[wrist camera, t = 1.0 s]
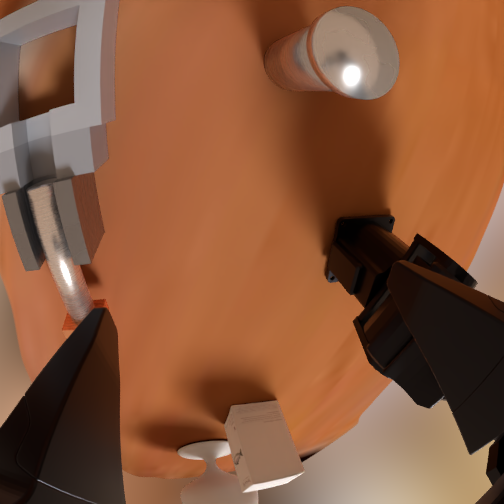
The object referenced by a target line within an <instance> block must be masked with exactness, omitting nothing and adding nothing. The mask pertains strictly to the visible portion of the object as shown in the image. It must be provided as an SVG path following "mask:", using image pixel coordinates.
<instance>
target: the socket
mask: <svg viewBox="0 0 504 504" xmlns="http://www.w3.org/2000/svg"><path fill="white" fill-rule="evenodd" d="M118 8H119V0H39V1H36V2H34V3H32V4H30V5H28V6H25V7H23V8H21V9H19V10H17V11H15V12H13V13H11V14H9V15H8V16H6V17H4V18H2V19H0V194H3V193H6V192H9V191H13V190H16V189H20V188H22V187H23V186H25V185H26V184H27V183H29V182H30V181H31V180H33V179H35V178H39V177H43V176H47V175H51V174H55V173H56V174H57V179H61V178H66V177H70V176H75V175H80V174H86V173H91V172H95V171H96V170H97V169H98V168H99V167H100V166H101V165H102V164H103V163H104V162H106V161H107V160H108V159H109V157H108V147H107V135H106V123H108V122H111V121H114V120H116V116H115V45H116V29H117V18H118ZM75 25H77V30H76V42H75V60H74V102H75V103H72V104H69V105H65V106H61V107H58V108H54V109H51V110H49V112H47V113H44V114H41V115H38V116H35V117H32V118H29V119H26V120H22V121H19V102H18V75H19V56H20V46H21V45H23V44H26V43H28V42H30V41H33V40H35V39H37V38H40V37H43V36H45V35H48V34H51V33H53V32H56V31H59V30H62V29H65V28H68V27H71V26H75Z"/></svg>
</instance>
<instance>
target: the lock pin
mask: <svg viewBox="0 0 504 504" xmlns="http://www.w3.org/2000/svg"><path fill="white" fill-rule="evenodd" d="M56 180H57V178H52V179H47V180H44V181H41V182H38V183H36V184H34V185H32V186H30V187H29V188H28V189H27V190H26V191H27V195H28V200H29V204H30V208H31V212H32V216H33V219H34V223H35V226H36V230H37V233H38V236H39V240H40V243H41V246H42V249H43V252H44V255H45V258H46V260H47V263H48V266H49V269H50V271H51V274H52V276H53V279H54V281H55V284H56V286H57V289H58V291H59V293H60V296H61V298H62V300H63V302H64V305H65V307H66V309H67V311H68V313H67V316H66V319H65V322H64V325H63V328H62V332H63V334H64V335H65V337H66V339H67V338H68V337H69V336H70V335H71V333H72V332H73V331H74V330H75V329H76V328H77V326H78V325H79V324H80V323H81V322H82V321H83V319H84V318H85V317H86V316H87V315H88V314H89V312H90V311H91V310H92V309H94V308H100V307H106V308H107V309H108V310H109V307H108V305H107V302H106V299H102V300H92V298H91V295H90V292H89V290H88V287H87V284H86V281H85V279H84V276H83V273H82V270H81V267H80V265H74V263H73V260H72V257H71V254H70V251H69V247H68V244H67V241H66V237H65V234H64V230H63V226H62V223H61V219H60V215H59V210H58V206H57V202H56V197H55V192H54V187H53V182H55V181H56Z"/></svg>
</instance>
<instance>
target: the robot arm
mask: <svg viewBox="0 0 504 504" xmlns="http://www.w3.org/2000/svg"><path fill="white" fill-rule="evenodd" d="M389 220H390V221H389ZM394 221H395V218H394V217H393V216H392V215H373V216H355V217H341V218H339V219H338V221H337V223H336V228H335V234H334V239H333V243H332V247H331V252H330V257H329V262H328V270H327V274H326V279H327V281H328V282H330V283H332V282H338V281H339V282H340V283H341V284H342V286H343V287H344V288H345V289H346V291H347V292H348V293H349V294H350V295H354V296H355V297H356V298H357V299H358V301H359V302H360V303H361V304H362V306H363V307H364V308H365V309H364V310H363V311H362V312H361V314H360V315H359V316H357V317H356V318H355V319H354V320H353V323H354V326H355V328H356V331H357V334H358V336H359V338H360V341H361V343H362V346H363V349H364V351H365V354H366V356H367V359H368V361H369V363H370V364H371V365H372V366H373V367H374V368H375V370H377V371H379V372H380V373H381V374H382V375H384V376H386V377H387V378H390V379H392V380H394V381H395V382H396V383H397V384H398V385H399V386H401V387H402V388H403V389H404V390H405V391H406V393H408V395H409V396H410V397H411V398H412V399H413V401H414V402H415V403H416V404H417V405H420V406H423V407H426V408H432V407H433V406H434V405H435V404H437V403H438V402H439V401H440V400H446V401H447V402H448V404H449V406H450V409H451V411H452V412H453V413H452V414H453V416H454V418H455V421H456V423H457V425H458V427H459V430H460V432H461V435H462V437H463V440H464V442H465V445H466V447H467V450H468V452H469V454H470V455H472V454H473V453H475V452H476V451H478V450H479V449H481V448H482V447H484V446H485V445H487V444H488V443H489V442H491V441H492V440H495V442H494V443H493V444H492V445H491V446H490V448H489V456H488V463H487V469H486V475H487V476H488V478H489V480H490V482H491V483H492V485H493V486H492V487H491V488H490V489H489V490H488V491H487V492H486V493H485V494H484V495H483V496H482V497H481V498H480V499H479V500H478V501H477V502H476V503H475V504H504V302H502V301H500V300H497V299H495V298H493V297H491V296H489V295H486V294H484V293H482V292H480V291H477V290H475V289H474V288H475V287H476V285H477V284H478V283H477V281H476V280H475V279H474V278H473V277H472V276H471V275H469V274H468V273H467V272H466V271H465V270H464V269H463V268H462V267H461V266H460V265H458V264H457V263H456V262H455V261H454V260H452V259H451V258H450V257H449V256H448V255H446V254H445V253H444V252H442V251H441V250H440V249H438V248H437V247H436V246H434V245H433V244H432V243H430V242H429V241H428V240H426V239H425V238H423V237H422V236H421V235H419V234H418V233H417V234H416V236H415V237H414V241H413V242H412V244H411V246H410V247H409V246H408V245H406V244H405V243H404V242H403V241H401V240H400V239H399V238H398V237H396V236H395V235H394V234H393V233H392V229H393V225H394ZM343 222H344V223H343ZM342 223H343V225H341V224H342ZM0 504H126V501H125V494H124V485H123V475H122V463H121V446H120V372H119V354H118V333H117V328H116V326H115V324H114V321H113V319H112V317H111V314H110V312H109V310H108V309H107V308H106V307H100V308H94V309H92V310H91V311H90V312H89V314H88V315H87V316H86V317H85V318H84V319H83V321H82V322H81V323H80V324H79V325H78V326H77V328H76V329H75V330H74V331H73V332H72V333H71V335H70V336H69V337H68V338H67V339H66V341H65V342H64V343H63V344H62V346H61V347H60V348H59V349H58V351H57V352H56V353H55V354H54V356H53V357H52V358H51V359H50V361H49V362H48V363H47V364H46V366H45V367H44V368H43V370H42V371H41V372H40V374H39V375H38V376H37V378H36V379H35V380H34V382H33V383H32V384H31V386H30V387H29V389H28V390H27V391H26V393H25V396H23V397H22V398H21V400H20V401H19V403H18V404H17V406H16V407H15V408H14V410H13V411H12V413H11V414H10V415H9V417H8V418H7V420H6V421H5V422H4V423H3V425H2V426H1V427H0Z"/></svg>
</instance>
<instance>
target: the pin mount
mask: <svg viewBox="0 0 504 504" xmlns="http://www.w3.org/2000/svg"><path fill="white" fill-rule="evenodd" d="M52 178H57V174H56V173H55V174H51V175H47V176H43V177H39V178H35V179H33V180H31V181H30V182H29V183H27V184H26V185H25V186H23V187H22V188H20V189H16V190H13V191H9V192H7V193H5V194H4V195H3V196H2V199H3V203H4V207H5V211H6V215H7V218H8V222H9V225H10V228H11V232H12V235H13V238H14V241H15V244H16V247H17V249H18V252H19V255H20V258H21V260H22V263H23V265H24V268H25V270H26V271H33V270H39V269H40V267H41V266H42V264H43V262H44V261H45V259H46V258H45V255H44V252H43V249H42V246H41V243H40V240H39V236H38V233H37V230H36V226H35V223H34V219H33V216H32V212H31V208H30V204H29V200H28V195H27V191H26V190H27V189H28V188H29V187H30V186H32V185H34V184H36V183H38V182H41V181H44V180H47V179H52ZM53 187H54V192H55V197H56V202H57V206H58V210H59V215H60V219H61V223H62V226H63V230H64V234H65V237H66V241H67V244H68V247H69V251H70V254H71V257H72V260H73V263H74V265H83V264H91V263H92V260H93V258H94V255H95V253H96V250H97V248H98V246H99V243H100V241H101V239H102V236H103V234H104V232H105V231H104V227H103V222H102V217H101V212H100V207H99V202H98V196H97V190H96V184H95V178H94V172H91V173H86V174H80V175H75V176H70V177H66V178H61V179H57V180H56V181H55V182H53Z"/></svg>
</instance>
